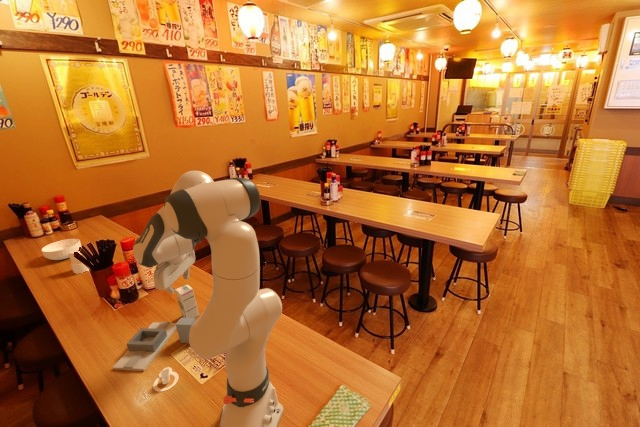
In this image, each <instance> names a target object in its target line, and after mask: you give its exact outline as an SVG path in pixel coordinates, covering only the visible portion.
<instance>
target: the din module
mask: <svg viewBox="0 0 640 427" xmlns="http://www.w3.org/2000/svg"><path fill="white" fill-rule="evenodd" d="M196 320H197V319H196V317H195V318H183V317H181V318H180V319H178V320H177V322H175V323H176V327H177V329H176V330H177V334H178V335H177V336H178V339H179V343H181V344H189V331H190V328H191V326H192V324H193V323H194V322H195V321H196Z"/></svg>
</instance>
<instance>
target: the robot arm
mask: <svg viewBox="0 0 640 427" xmlns="http://www.w3.org/2000/svg"><path fill="white" fill-rule="evenodd" d="M261 202H262V201H261V195H260V191H259V189H258V187H257V186H256V184H255V183H254V182H253V181H252V180H250V179H249V178H245V177H231V178H226V179H223V180H217V181H214V179H213V178H212V177H211V176H210V175H209V174H207V173H206V172H204V171H201V170H189V171H186V172H183V173H182V174H181V175H180V176H179V178H178V179H177V180H176V181H175V183H174V186H173V187H172V189H171V192H170V194H168V195H167V196H166V197H165V200H164V204H163V206H162V207H161V208H160V209H158V210H157V212H155V213H154V214H153V215H152V216H151V217H150V218H149V220H148V221H147V223H146V225H145V227H144V228H143V230H142V233H141V234H140V236H139V237H137V239H136V240H135V242H134V243H133V246H132V250H133V256H134V258H135V260H136V262H137V263H138V265H140V266H143V267H145V268H148V269H150V268H153V267H155V266H156V267H155V269H154V271H153V283H154V288H155V289H156V290H159V291H167V292H168V294H169V295H174V293H176V291H175V289H176V288H175V287H173V284H174V283H175V282H176V281H177V280H178V279H179V278H180V277H181V276H182V279H183V280H188V279H189V278H190V270H191V266H192V265H193V264H195V262H196V255H195V254H196V253H195V247H196V246H197V244H201V243H202V242H203V241H204V238H205V240H206V241H207V242H208V244H209V246H210V252H211V255H210V256H211V271H212V273H211V274H212V292H211V295H210V299H209V301H208V303H207V305H206V307H205V309H204V310H203V311H202V313H201V314H199V315H200V316H198V318H197V319H196V321H195V322H194V323H193V324H192V326H191V328H190V331H189V343H188V344H189V346H190V348H191V350H192V351H193V353H194V354H195V355H196V356H197V357H199V358H201V359H204V360H209V359H212V358H215V357H218V356H220V355H223V354H225V357H224V366H225V369H226V376H227V378H226V395H224V398H223V407H222V411H221V412H222V413H221V417H220V422H219V426H218V427H278V426H279V422H280V421H281V418H282V416H283V413H284V411H285V410H284V406H283V404H282V403H280V402H279V400H278V399H279V398H278V395H277V390H276V388H275V386H274V385H273V384H272V382H271V380H270V371H269V368H268V366H267V362H266V361H267V360H266V348H267V343H268V340H269V338H270V335H271V332H272V330H273V328H274V326H275V325H276V323H277V322H278V321H279V319H280V318H281V317H282V314H283V304H282V300H281V298H280V296H279V295H278V294H277V292H276V291H274V290H273V289H271V288H268V287H265V288H262V289H260V283H261V281H260V279H261V277H260V276H261V275H260V274H261V272H260V271H261V266H260V265H261V264H260V263H261V262H260V248H259V242H258V238H257V235H256V231H255V229H254V228H253V226H252V225H250V224H249V223H247V222H245V221H243V220H247V219H250V218H251V217H253V216H255V215H256V214H257V213H258V212H259V211H260V207H261Z"/></svg>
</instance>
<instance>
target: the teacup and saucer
mask: <svg viewBox="0 0 640 427" xmlns="http://www.w3.org/2000/svg"><path fill="white" fill-rule="evenodd" d="M171 376H173V377H174V380H173V382H172V384H170V385H169V386H167V387H164V388H160V387H158V383H159V381H160V382H161V384H162V385H167V384H169V383H170V381H171ZM178 380H179V374H178V373H177V372H176V371H173V369H172V368H171V367H169V366H168V367H167V366H166V367H164V368H163V369H162V370H161V371H160V372H159V374H158V377H157V378H156V379H154V382H153V385H152V389H153V390H154V391H155V392H158V393H162V392H163V393H164V392H166V391H168V390H170V389H172V388H173V387H174V386H176V384H177V383H178Z"/></svg>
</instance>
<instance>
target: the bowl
mask: <svg viewBox="0 0 640 427" xmlns="http://www.w3.org/2000/svg"><path fill="white" fill-rule="evenodd" d="M79 247H81V248H82V243H81V240H80V239H78V238H67V239H61V240H58V241H55V242H51V243H49V244H47V245H45V246H43V247H42V248H41V250H40V251H41V252H42V255H43V256H44V258H46V259H48V260H51V261H62V260H66V259H70V257H69V254H68V253H69V252H71V251H78V250H79Z"/></svg>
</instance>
